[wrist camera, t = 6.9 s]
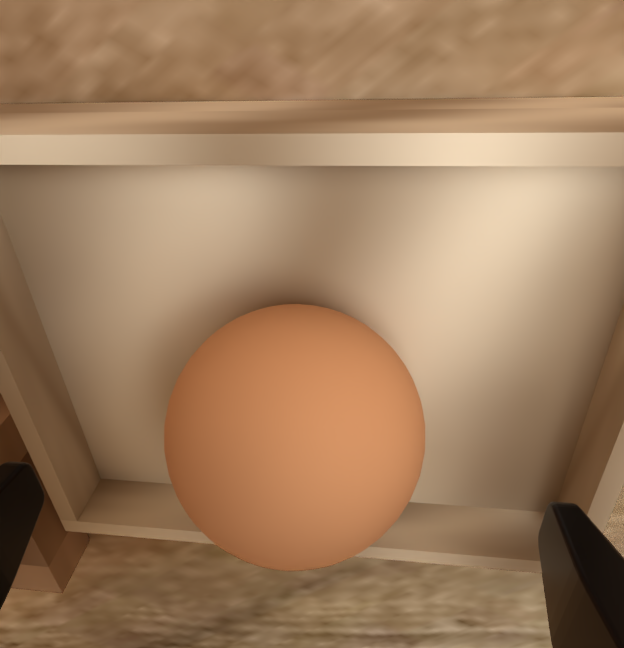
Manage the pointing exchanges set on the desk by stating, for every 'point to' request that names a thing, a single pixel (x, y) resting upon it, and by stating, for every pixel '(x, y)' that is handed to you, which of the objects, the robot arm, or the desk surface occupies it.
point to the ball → (294, 437)
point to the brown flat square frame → (41, 526)
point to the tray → (324, 292)
